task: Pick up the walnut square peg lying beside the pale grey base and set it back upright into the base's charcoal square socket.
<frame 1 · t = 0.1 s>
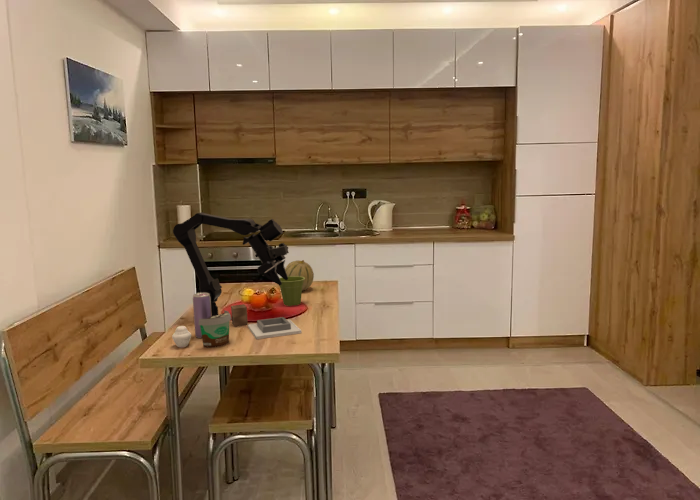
hand: (284, 282, 202), 15 cm above the table, tool tilted 30°, fingers open, 9 cm apart
white lidded jar: (182, 346, 176), on the table
food container: (220, 345, 177), on the table
cantaloupe: (299, 291, 254), on the table
walnut peg: (239, 324, 200), on the table
plant pot: (292, 304, 228), on the table
socket base: (273, 330, 191), on the table
beverage can: (204, 336, 186), on the table
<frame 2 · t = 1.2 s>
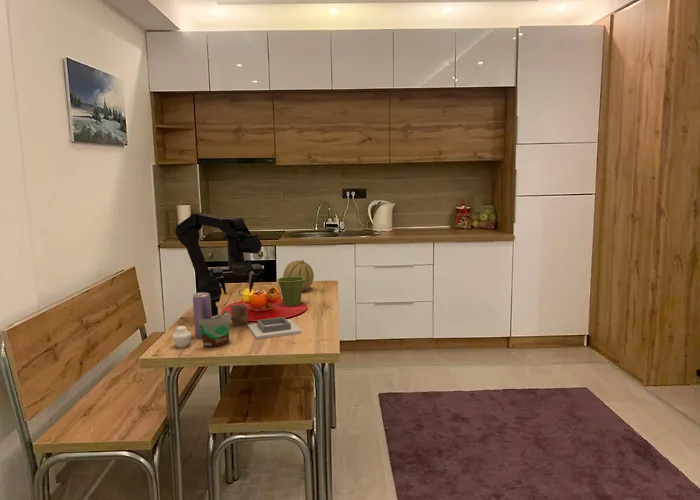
hand: (237, 293, 198), 12 cm above the table, tool pointing down, fingers open, 9 cm apart
nothing on the table moved.
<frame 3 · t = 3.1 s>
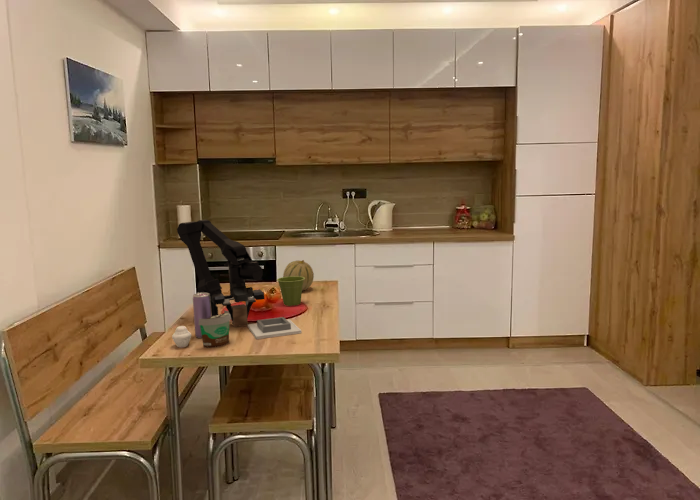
hand: (239, 319, 199), 2 cm above the table, tool pointing down, fingers closed on walnut peg, 5 cm apart
walnut peg: (239, 324, 200), on the table, touching gripper
everything else where it was.
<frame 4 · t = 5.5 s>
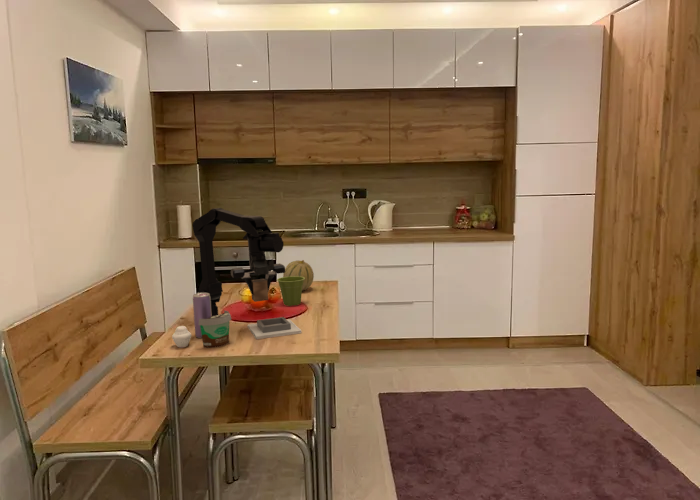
hand: (259, 294, 192), 13 cm above the table, tool pointing down, fingers closed on walnut peg, 5 cm apart
walnut peg: (260, 299, 193), point 11 cm above the table, touching gripper
everything else where it was.
when the fingers open (4 cm above the table, at t = 8.1 s): walnut peg drops 1 cm, resting on socket base.
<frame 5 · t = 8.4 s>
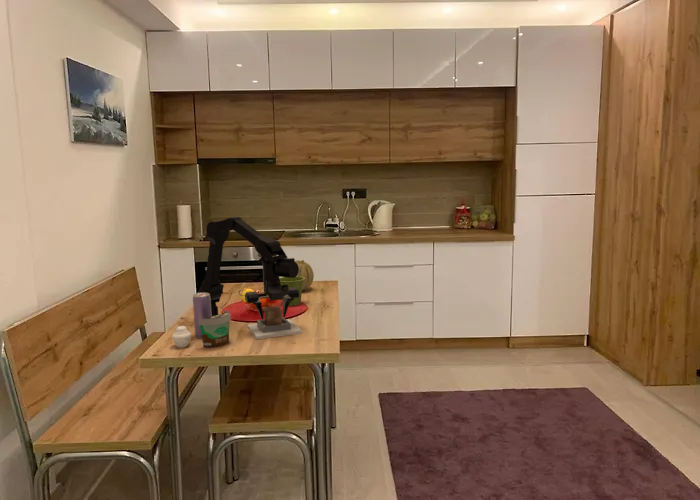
hand: (273, 318, 191), 4 cm above the table, tool pointing down, fingers open, 8 cm apart
walnut peg: (273, 327, 191), point 1 cm above the table, touching socket base
everything else where it was.
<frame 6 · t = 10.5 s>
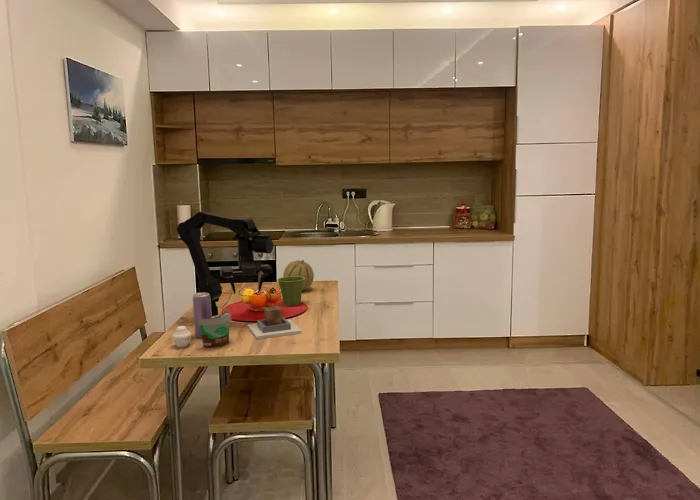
hand: (247, 292, 200), 12 cm above the table, tool pointing down, fingers open, 9 cm apart
nothing on the table moved.
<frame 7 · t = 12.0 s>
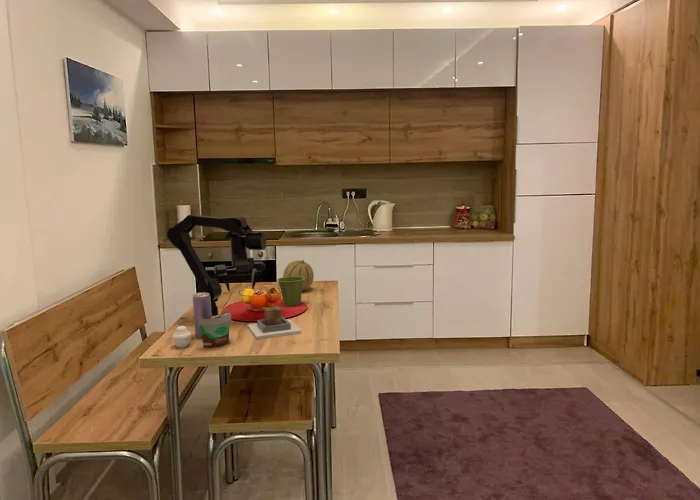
hand: (241, 290, 203), 12 cm above the table, tool pointing down, fingers open, 9 cm apart
nothing on the table moved.
at the end: walnut peg 0.0 cm off-centre on the socket base, point 1.0 cm above the socket base's base; walnut peg tilted 0°; the gripper is holding nothing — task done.
